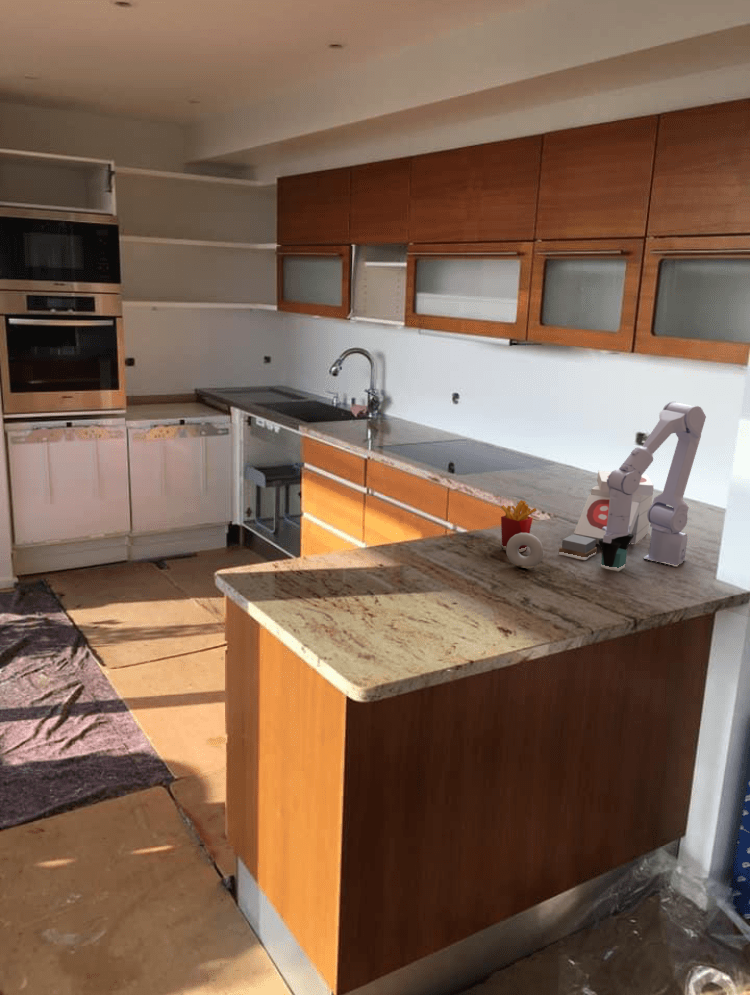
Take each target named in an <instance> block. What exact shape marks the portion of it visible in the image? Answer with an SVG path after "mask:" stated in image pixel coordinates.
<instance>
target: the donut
mask: <svg viewBox="0 0 750 995" xmlns="http://www.w3.org/2000/svg"><path fill="white" fill-rule="evenodd" d="M522 545H526V546H527V547H528V548H529V549H530V550H529V551H530V553H529V555H527V556H525V555H522V554H521V553H519V547H520V546H522ZM505 552H506V555H507V559H508V560H509V561H510V563H511V562H512V563H514V564H518V565H523V566H535V567H537V565H539V564H540V563H541V561H542V560H543V556H544V546H543V544H542V542H541V540H540V539H539V538H538V537H537V536H535V535H534V534H532V533H518V534H515V535H514V536H513V537H511V538H510V540H509V541H508V543H507V547H506V551H505ZM512 563H511V564H512Z"/></svg>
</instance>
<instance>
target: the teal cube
mask: <svg viewBox="0 0 750 995" xmlns="http://www.w3.org/2000/svg"><path fill="white" fill-rule="evenodd" d="M627 555H628V549H626V550H624V549H620V548H619V549H618V551H617V553H616V556H615V560H614V564H613V566H612V567H617V568H619V567H621V566H623V565H624V564H627ZM600 562H601V563H600V565H601V564H602V565H604V560H603V553H601V561H600Z"/></svg>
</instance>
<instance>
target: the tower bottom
mask: <svg viewBox="0 0 750 995" xmlns="http://www.w3.org/2000/svg"><path fill="white" fill-rule="evenodd" d="M558 548H559V549H558V553H559V552H564V553H568V554H573V555H577V556H581V557H588V556H589V555H591V554H593V553H595V552H597V551H598V547H597V546H595V548H593V549H592V550H590V551H588V552H587V553H582V552H577V551H573V550H568V549H564V548H562V546H560V547H558ZM597 553H598V552H597Z"/></svg>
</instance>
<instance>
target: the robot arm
mask: <svg viewBox="0 0 750 995" xmlns="http://www.w3.org/2000/svg"><path fill="white" fill-rule="evenodd" d="M706 418H707V416H706V414H705V412H704V409H703V408H702V407H701V406H698V405H690V404H685V403H680V402H676V401H668V402H667V403H666V404H665V405H664V407H663V409H662V410H661V411H660V412H659V420H658V422H657V423H656V425H655V426H654V428H653V430H652V431H651V433H650V434H649V435H648V437H647V439H646V440H645V441H644V442H643V444H642V446H638V447H634V449H633V450H632V451H631V452H630V454H629V456H628V457H627V458H626V459H625V460H624V461H623V463H622V464H621V466H620V467H619V468H616V469H614V470H613V471H610V472H611V473H610V475H609V478H608V479H607V485H608V487H609V494H610V502H609V510H608V520H607V527H603V528H602V530H603V531H605V535H604V537H603V539H602V538H601V539H599V544H598V545H599V547H600V549H601V552H602V553H603V560H604V565H605V566H609V567H612V566H613V564H614V560H615V556H616V553H617V551H618V549H619V548H620V549H624V550H628V546H629V545H630V544H629V543H630V541H631V540H632V538H633V536H634V535H633V534H629V532H630V525H629V522H630V514H631V505H632V497H633V493H634V492H635V491H636V490H637V489H638V487H639V484H640V480H641V478H642V474H644V473H645V472H646V471H647V469H648V468H649V467H650V465H651V464H652V463H653V461H654V453H656V451H657V450H658V449H659V448H660V447H661V445H663V443H665V441H666V440H667V439H668V438H669V437H670V436H671V435H672V434H675V436H676V437H677V438H678V439H677V442H676V446H675V448H674V453H673V456H672V460H671V464H670V468H669V471H668V473H667V476H666V481H665V484H664V487H663V491H662V493H660V494H659V495H657V496H655V497H654V498H653V500H652V504H651V506H650V508H649V510H648V513H647V518H648V521H649V527H651V533H650V535H651V536H650V542H649V548H648V554H647V555H645V556H644V557H643V558H644V559H646V558H647V559H649V560H653V561H658V562H666V563H670V564H674V565H678V564H680V563H681V564H683V563H684V562H685V561H686V554H687V553H686V552H687V546H688V534H687V533H685V532H682V531H683V530H684V529H685V527H686V526H687V523H688V511H689V509H690V508H689V506H688V504H687V502H686V501H685V500H684V495H685V491H686V488H687V486H688V481H689V478H690V476H691V471H692V468H693V464H694V460H695V458H696V455H697V452H698V447H699V444H700V441H701V437H702V432H703V429H704V425H705V422H706ZM602 553H601V554H602ZM644 559H643V560H644ZM684 560H685V561H684ZM683 561H684V562H683ZM681 564H680V565H681Z"/></svg>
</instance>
